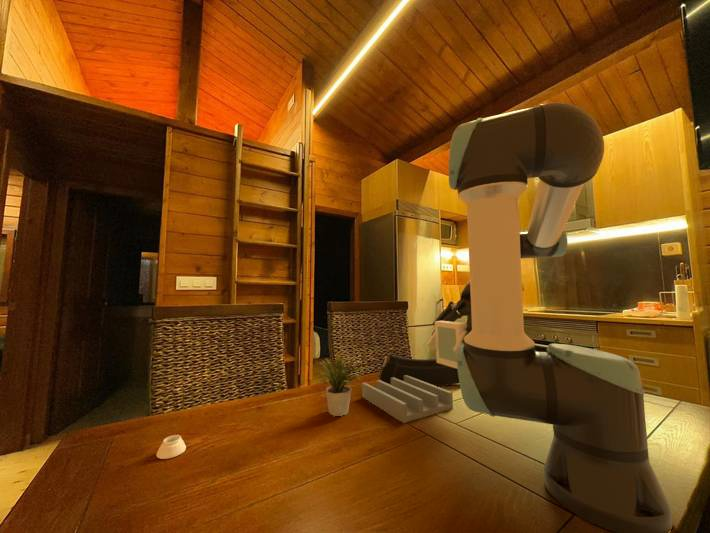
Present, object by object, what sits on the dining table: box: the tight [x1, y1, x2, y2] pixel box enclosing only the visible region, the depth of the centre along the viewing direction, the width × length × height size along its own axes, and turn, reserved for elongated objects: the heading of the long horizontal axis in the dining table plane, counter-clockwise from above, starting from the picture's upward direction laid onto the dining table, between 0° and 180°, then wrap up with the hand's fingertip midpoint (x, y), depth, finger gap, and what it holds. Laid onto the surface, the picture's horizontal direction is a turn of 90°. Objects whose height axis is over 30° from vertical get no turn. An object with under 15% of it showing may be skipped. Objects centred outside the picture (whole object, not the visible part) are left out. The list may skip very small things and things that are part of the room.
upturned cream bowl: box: [156, 434, 187, 460], centre depth 58 cm, size 5×3×5 cm
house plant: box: [318, 350, 366, 417], centre depth 77 cm, size 14×14×16 cm
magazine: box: [378, 353, 460, 387], centre depth 101 cm, size 17×3×30 cm
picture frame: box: [434, 320, 468, 369], centre depth 80 cm, size 3×9×12 cm, turn 28°
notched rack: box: [361, 375, 454, 424], centre depth 85 cm, size 18×20×4 cm
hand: (442, 349), depth 79 cm, fingers closed on picture frame, 9 cm apart
